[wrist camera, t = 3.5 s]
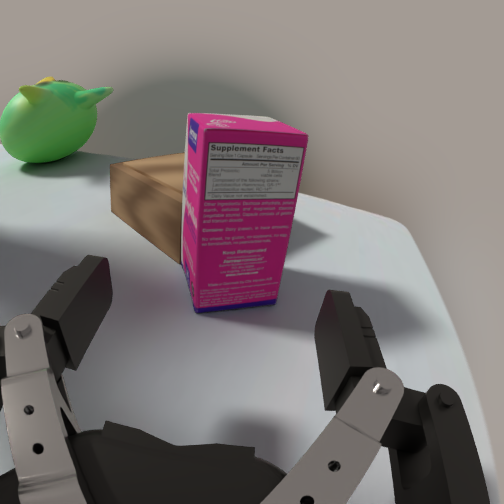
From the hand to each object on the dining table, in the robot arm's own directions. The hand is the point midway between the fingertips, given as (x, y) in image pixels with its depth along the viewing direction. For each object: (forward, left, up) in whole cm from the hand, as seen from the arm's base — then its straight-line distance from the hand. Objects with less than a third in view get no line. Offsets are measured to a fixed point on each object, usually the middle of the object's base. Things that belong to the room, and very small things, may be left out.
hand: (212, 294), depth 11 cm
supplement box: (-6, +7, -7) cm, 12 cm away
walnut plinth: (-16, +12, -6) cm, 21 cm away
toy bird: (-49, +6, -7) cm, 50 cm away
